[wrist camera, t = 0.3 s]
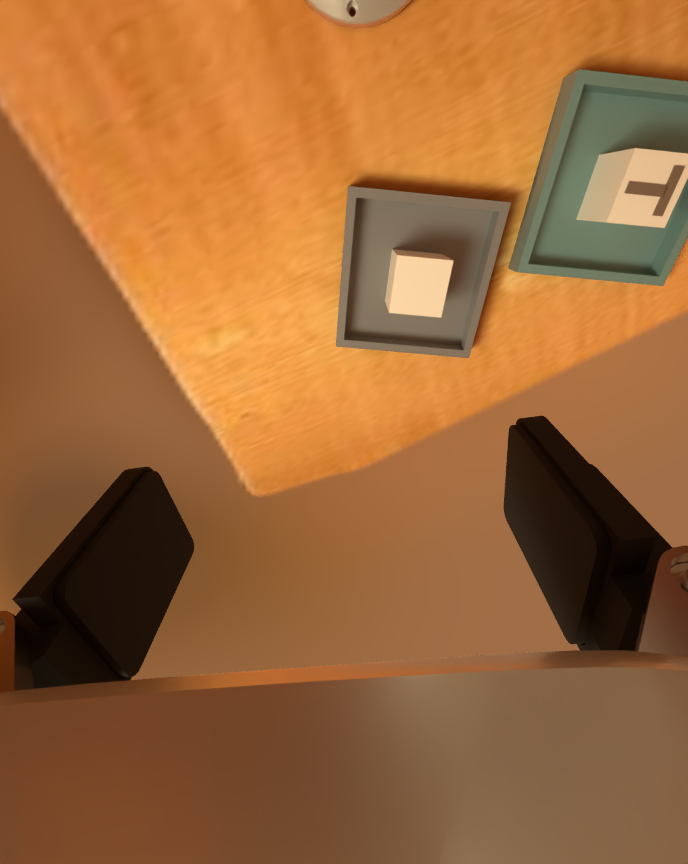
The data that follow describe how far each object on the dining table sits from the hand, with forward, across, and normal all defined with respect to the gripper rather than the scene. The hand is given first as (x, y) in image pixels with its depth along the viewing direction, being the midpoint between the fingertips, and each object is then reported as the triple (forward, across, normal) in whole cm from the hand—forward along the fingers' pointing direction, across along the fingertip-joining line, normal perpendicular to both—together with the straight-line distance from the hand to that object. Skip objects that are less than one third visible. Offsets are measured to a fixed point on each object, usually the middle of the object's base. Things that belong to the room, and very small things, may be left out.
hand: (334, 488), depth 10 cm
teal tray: (+34, -25, -4) cm, 43 cm away
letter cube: (+34, -25, -4) cm, 42 cm away
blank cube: (+34, -7, +1) cm, 34 cm away
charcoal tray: (+34, -7, +1) cm, 35 cm away
